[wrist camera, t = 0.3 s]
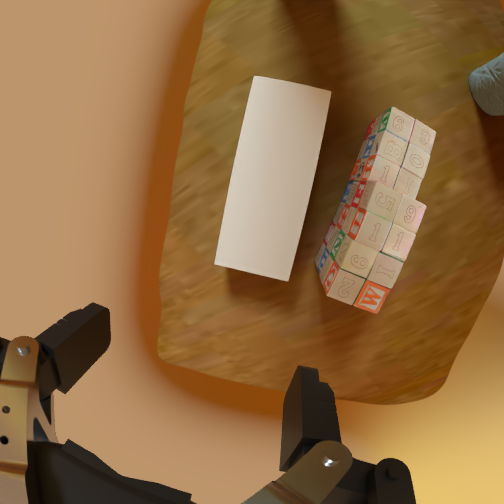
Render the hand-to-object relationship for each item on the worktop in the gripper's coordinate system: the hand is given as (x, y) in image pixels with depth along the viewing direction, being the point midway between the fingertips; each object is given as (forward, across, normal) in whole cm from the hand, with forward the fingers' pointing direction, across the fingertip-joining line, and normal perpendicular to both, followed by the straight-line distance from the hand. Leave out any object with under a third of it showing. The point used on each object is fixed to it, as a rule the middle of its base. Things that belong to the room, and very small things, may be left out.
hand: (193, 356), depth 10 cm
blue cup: (+29, -32, -34) cm, 55 cm away
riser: (+28, 0, -7) cm, 29 cm away
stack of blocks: (+29, -13, -8) cm, 32 cm away
